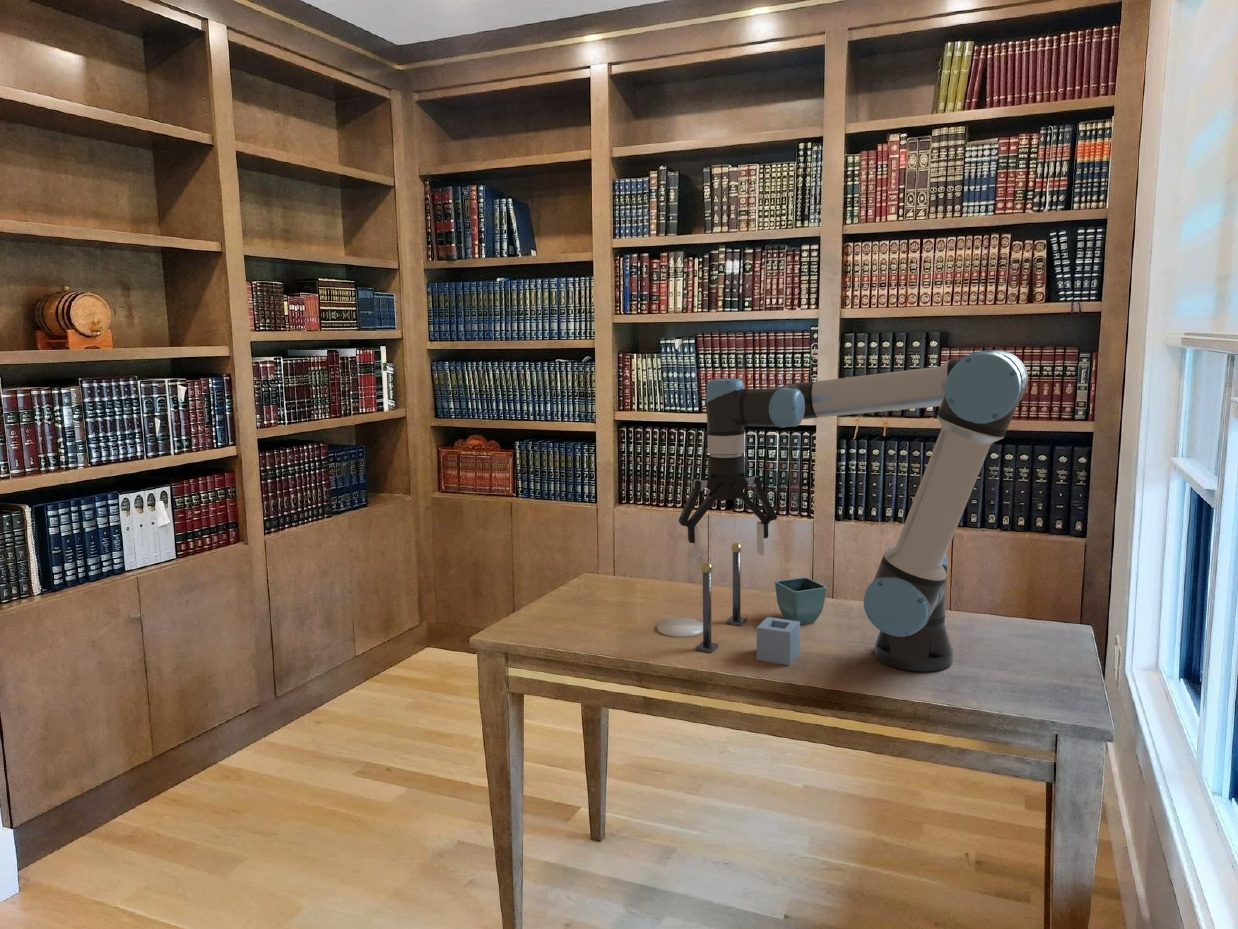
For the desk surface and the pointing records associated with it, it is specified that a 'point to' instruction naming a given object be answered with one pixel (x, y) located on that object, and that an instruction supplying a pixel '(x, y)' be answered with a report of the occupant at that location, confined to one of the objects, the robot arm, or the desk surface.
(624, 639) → the desk surface
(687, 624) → the white round disc
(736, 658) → the desk surface
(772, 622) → the hollow square tube
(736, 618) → the gold-tipped post pair
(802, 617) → the flower pot
